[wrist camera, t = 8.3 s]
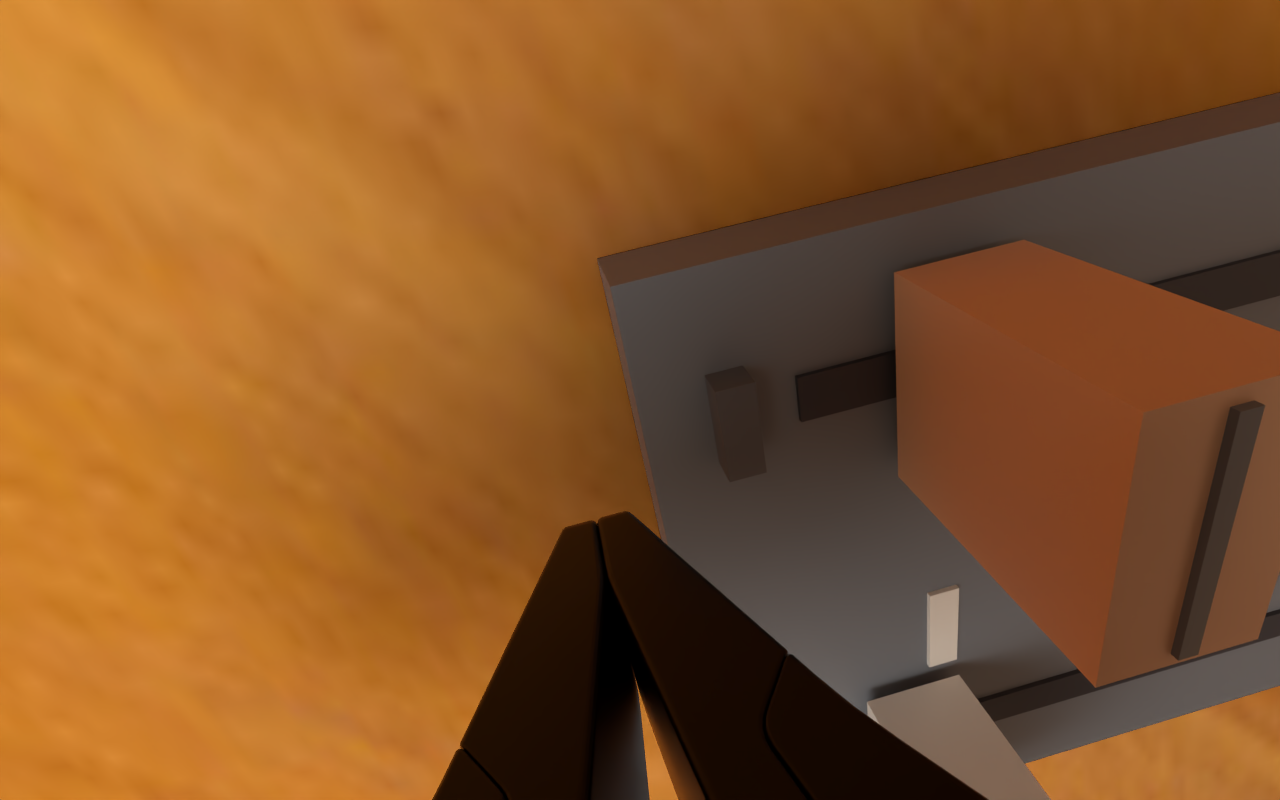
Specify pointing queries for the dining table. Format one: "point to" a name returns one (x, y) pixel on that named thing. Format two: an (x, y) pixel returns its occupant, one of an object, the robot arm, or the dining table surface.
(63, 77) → the dining table surface
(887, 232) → the console
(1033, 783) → the fader
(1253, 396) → the fader
